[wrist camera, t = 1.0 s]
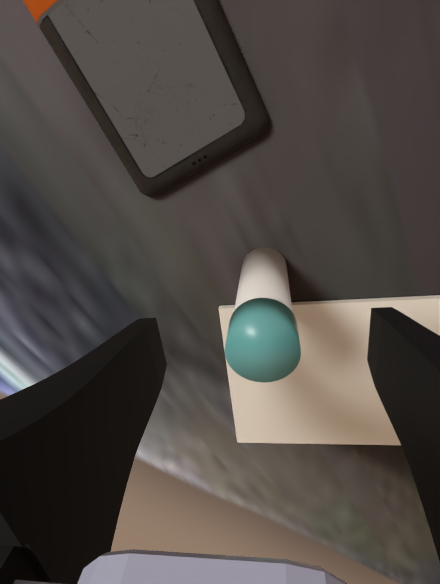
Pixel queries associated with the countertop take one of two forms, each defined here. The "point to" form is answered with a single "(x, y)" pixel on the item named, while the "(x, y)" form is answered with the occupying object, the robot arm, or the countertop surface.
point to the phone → (157, 81)
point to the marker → (263, 320)
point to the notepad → (324, 378)
